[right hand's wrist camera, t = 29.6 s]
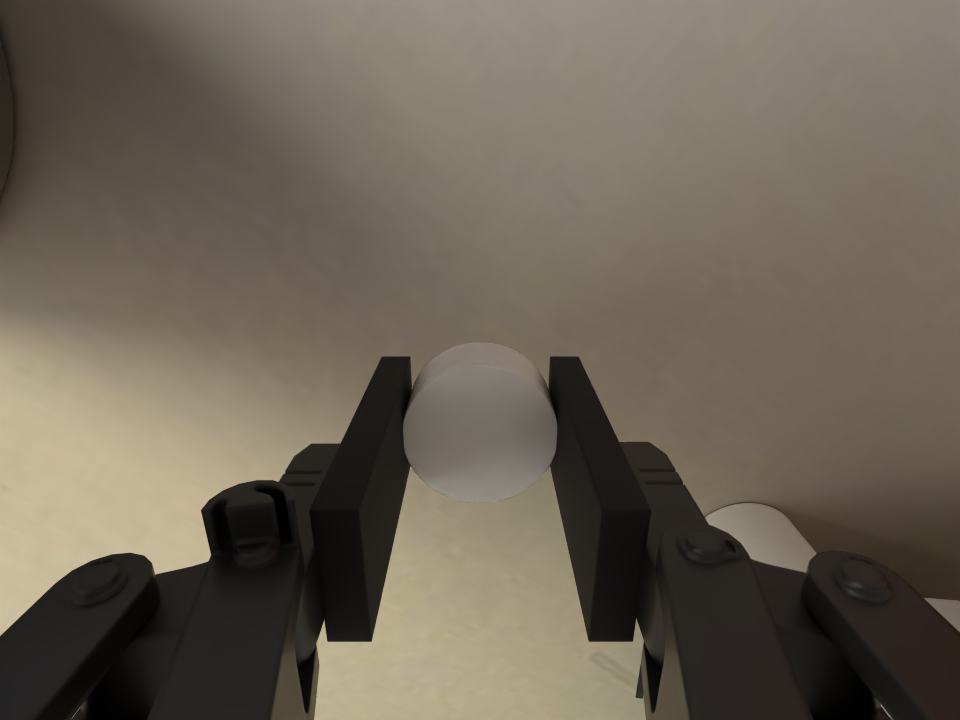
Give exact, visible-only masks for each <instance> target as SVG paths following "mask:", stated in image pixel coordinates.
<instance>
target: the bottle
mask: <svg viewBox="0 0 960 720" xmlns="http://www.w3.org/2000/svg"><path fill="white" fill-rule="evenodd" d="M705 519H706V521H707V522H708V524H709V525H712V526H714V527H716V528H719V529H721V530H723V531H725V532H727V533H729V534H730V535H732V536H733V537H734V538H735V539H737V540H738V541H739V542H740V543H741V544H742V545H743V547H744V548H745V550H746V551H747V553H748V554H749V556H750V558H751V559H753V560H756V561H759V562H762V563H766V564H769V565H774V566H778V567H783V568H787V569H792V570H796V571H801V572H805V573H806V571H807V567H808V564H809V560H811V559H812V558H813V557H814V556H815V555H816V554H817V553H816V552H815V551H814V549H813V548H812V547H811V546H810V545H809V543H808V542H807V541H806V540H805V539H804V537H803V536H802V535H801V534H800V533H799V531H798V530H797V529H796V528H795V527H794V525H793V524H792V523H791V522H790V521H789V519H788V518H787V517H786V516H785V515H784V514H782V513H781V512H780V511H778V510H776V509H774V508H772V507H769V506H766V505H762V504H756V503H741V504H735V505H730V506H727V507H724V508H721V509H719V510H716V511H714V512H713V513H711V514H709V515H708V516H706V517H705ZM881 707H882V708H883V709H884V707H883V706H882V705H881ZM884 710H885V709H884ZM885 712H886V713H887V711H886V710H885ZM887 714H888V713H887ZM888 716H889V717H890V718H891V716H890V715H889V714H888ZM891 719H892V718H891ZM892 720H893V719H892Z"/></svg>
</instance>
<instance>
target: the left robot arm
mask: <svg viewBox="0 0 960 720" xmlns="http://www.w3.org/2000/svg"><path fill="white" fill-rule="evenodd" d="M924 599H925V600H926V601H927V602H928V603H930V604H931V605H932V606H933V607H934V608H935V609H936V610H937V611H938V612H939V613H940V614H941V615H942V616H943V617H944V618H945V619H946V620H947V621H949V622H950V623H951V624H952V625H953V626H954V627H955V628H956V629H957V630H958V631H959V632H960V601H959V600H947V599H935V598H924Z"/></svg>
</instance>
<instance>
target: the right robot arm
mask: <svg viewBox="0 0 960 720" xmlns="http://www.w3.org/2000/svg"><path fill="white" fill-rule="evenodd" d="M13 131H14V113H13V100H12V90H11V84H10V78H9V72H8V67H7V63H6V59H5V55H4V51H3V47H2V43H1V40H0V195H1V192H2V190H3V187H4V184H5V182H6V178H7V174H8V170H9V166H10V162H11V154H12V146H13ZM548 390H549V394H550V397H551V401H552V404H553V408H554V411H555V415H556V418H557V444H556V452H555V455H554V458H553V460H552V462H551V464H550V468H551V472H552V477H553V481H554V486H555V490H556V495H557V499H558V504H559V509H560V513H561V518H562V522H563V527H564V531H565V536H566V540H567V545H568V549H569V554H570V559H571V563H572V568H573V572H574V577H575V581H576V586H577V590H578V595H579V599H580V604H581V608H582V613H583V618H584V622H585V627H586V631H587V636H588V640H589V642H633V637H634V630H635V622H636V618H637V621H638V624H639V627H640V630H641V633H642V636H643V639H644V645H643V652H642V659H641V665H640V672H639V678H638V685H637V692H636V698H642V699H643V694H644V703H645V713H646V720H892V719H893V720H960V632H959V631H958V630H957V629H956V628H955V627H954V626H953V625H952V624H951V623H950V622H949V621H947V620H946V619H945V618H944V617H943V616H942V615H941V614H940V613H939V612H938V611H937V610H936V609H935V608H934V607H933V606H932V605H931V604H930V603H928V602H927V601H926V600H925V599H924V598H923V597H922V596H921V595H920V594H919V593H918V592H917V591H916V590H915V589H914V588H913V587H912V586H911V585H909V584H908V583H907V582H906V581H905V580H904V579H902V578H901V577H900V576H899V575H897V574H896V573H895V572H893V571H892V570H891V569H889V568H887V567H885V566H883V565H881V564H879V563H877V562H875V561H873V560H871V559H869V558H866V557H863V556H860V555H857V554H853V553H850V552H841V551H826V552H822V553H817V554H816V555H815V556H814V557H813V558H812V559H811V560H809V564H808V567H807V571H806V573H805V572H801V571H796V570H792V569H787V568H783V567H778V566H774V565H769V564H766V563H762V562H759V561H756V560H753V559H751V558H750V556H749V554H748V553H747V551H746V550H745V548H744V547H743V545H742V544H741V543H740V542H739V541H738V540H737V539H735V538H734V537H733V536H732V535H730V534H729V533H727V532H725V531H723V530H721V529H719V528H716V527H714V526H712V525H709V524H708V522H707V521H706V519H705V517H704V516H703V514H702V512H701V511H700V509H699V507H698V506H697V504H696V503H695V501H694V499H693V498H692V496H691V494H690V493H689V491H688V489H687V488H686V486H685V485H683V481H682V480H681V478H680V476H679V475H678V473H677V472H675V468H674V466H673V465H672V463H671V461H670V460H669V458H668V457H667V455H666V454H665V453H663V452H662V451H661V450H659V449H658V448H657V447H655V446H654V445H652V444H651V443H650V442H619V441H618V439H617V437H616V435H615V433H614V431H613V428H612V426H611V424H610V422H609V420H608V418H607V416H606V414H605V412H604V409H603V407H602V405H601V403H600V401H599V399H598V397H597V395H596V393H595V390H594V388H593V386H592V384H591V382H590V380H589V378H588V376H587V374H586V371H585V369H584V367H583V365H582V363H581V361H580V359H579V357H550V370H549V389H548ZM411 392H412V382H411V363H410V357H381V360H380V362H379V364H378V366H377V368H376V370H375V372H374V374H373V376H372V379H371V381H370V383H369V385H368V387H367V389H366V391H365V393H364V395H363V398H362V400H361V402H360V404H359V406H358V408H357V410H356V412H355V414H354V417H353V419H352V421H351V423H350V425H349V427H348V429H347V431H346V433H345V436H344V438H343V440H342V442H341V444H310V445H309V446H308V447H306V448H305V449H304V450H302V451H301V452H300V453H298V454H297V455H295V456H294V458H293V459H292V461H291V463H290V464H289V466H288V468H287V469H286V471H285V474H283V476H282V478H281V479H280V481H279V482H277V481H273V480H256V481H251V482H246V483H241V484H238V485H235V486H233V487H231V488H228V489H226V490H223V491H222V492H220V493H219V494H217V495H216V496H214V497H213V498H211V499H210V500H209V501H208V502H207V504H206V505H205V506H204V507H203V509H202V510H201V512H202V517H203V521H204V525H205V530H206V534H207V538H208V543H209V547H210V551H211V557H210V560H209V561H208V562H206V563H202V564H199V565H195V566H192V567H188V568H183V569H179V570H174V571H170V572H165V573H161V574H156V575H155V573H154V569H153V565H152V563H151V562H150V561H149V560H148V559H147V558H146V557H145V556H143V555H138V554H134V553H123V554H112V555H109V556H106V557H102V558H99V559H96V560H93V561H90V562H88V563H86V564H84V565H82V566H80V567H78V568H76V569H74V570H72V571H71V572H70V573H68V574H67V575H66V576H65V577H63V578H62V579H61V580H59V581H58V582H57V583H55V584H54V585H53V586H52V587H51V588H50V589H49V590H48V591H47V592H46V593H45V594H44V595H43V596H42V597H41V598H40V599H39V600H38V601H37V602H35V603H34V604H33V605H32V606H31V607H30V608H29V609H28V610H27V611H26V612H25V613H24V614H23V615H22V616H21V617H20V618H19V619H18V620H17V621H16V622H15V623H14V624H12V625H11V626H10V627H9V628H8V629H7V630H6V631H5V632H4V633H3V634H2V635H1V636H0V720H314V714H315V704H316V694H317V684H318V673H319V659H318V652H317V645H316V643H317V640H318V637H319V634H320V631H321V628H322V625H323V622H324V620H325V627H326V634H327V641H328V642H372V637H373V633H374V628H375V624H376V619H377V615H378V610H379V606H380V601H381V596H382V592H383V587H384V583H385V578H386V574H387V569H388V565H389V560H390V556H391V551H392V546H393V542H394V537H395V533H396V528H397V524H398V519H399V515H400V510H401V506H402V501H403V497H404V492H405V487H406V483H407V478H408V474H409V469H410V463H409V461H408V459H407V457H406V454H405V451H404V438H403V420H404V417H405V413H406V409H407V406H408V402H409V399H410V395H411ZM881 705H882V706H883V707H884V709H885V710H886V711H887V713H888V714H889V715H890V716H891V718H892V719H891V718H890V717H889V716H888V714H887V713H886V712H885V710H884V709H883V708H882V707H881ZM79 708H80V709H79ZM78 709H79V710H78ZM77 710H78V711H77ZM76 712H77V713H76ZM75 713H76V714H75ZM74 714H75V715H74ZM73 716H74V717H73ZM72 717H73V718H72ZM71 718H72V719H71Z"/></svg>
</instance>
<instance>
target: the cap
mask: <svg viewBox="0 0 960 720" xmlns="http://www.w3.org/2000/svg"><path fill="white" fill-rule="evenodd" d="M403 438H404V451H405V454H406V457H407V459H408V461H409V463H410V465H411V467H412V468H413V470H414V471H415V473H416V474H417V475H418V476H419V477H420V479H422V480H423V481H424V482H425V483H426V484H427V485H428V486H430V487H431V488H432V489H434V490H435V491H437V492H439V493H441V494H443V495H445V496H447V497H450V498H452V499H456V500H460V501H465V502H471V503H489V502H496V501H501V500H504V499H508V498H511V497H513V496H515V495H518V494H520V493H521V492H523V491H525V490H527V489H528V488H529V487H531V486H532V485H533V484H535V483H536V482H537V481H538V480H539V479H540V478H541V477H542V475H543V474H544V473H545V472H546V471H547V469H548V467H549V466H550V464H551V462H552V460H553V458H554V455H555V452H556V444H557V418H556V415H555V411H554V408H553V404H552V401H551V397H550V394H549V390H548V387H547V384H546V382H545V380H544V378H543V376H542V374H541V373H540V371H539V370H538V369H537V367H536V366H535V365H534V364H533V363H532V362H531V361H530V360H529V359H527V358H526V357H525V356H524V355H522V354H520V353H519V352H517V351H515V350H513V349H511V348H509V347H506V346H503V345H500V344H495V343H489V342H472V343H466V344H461V345H458V346H455V347H452V348H449V349H447V350H445V351H443V352H442V353H440V354H438V355H437V356H435V357H434V358H433V359H432V360H431V361H430V362H428V363H427V365H426V366H425V367H424V368H423V369H422V371H421V372H420V374H419V375H418V377H417V379H416V381H415V383H414V385H413V389H412V392H411V395H410V399H409V402H408V406H407V409H406V413H405V417H404V420H403Z"/></svg>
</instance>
